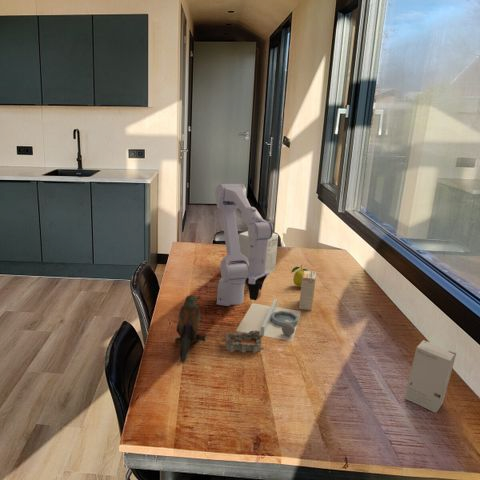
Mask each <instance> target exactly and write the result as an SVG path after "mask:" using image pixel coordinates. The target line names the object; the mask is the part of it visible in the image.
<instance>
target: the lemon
mask: <svg viewBox="0 0 480 480" xmlns="http://www.w3.org/2000/svg"><path fill="white" fill-rule="evenodd" d="M298 269H299V270H298ZM304 271H309V270H308V269H306V268H303V264H301V265H300V266H295V267H293V268H292V270H291V272H290V273H294V272H295V273H294V275H293V279H292V280H293V281H292V282H293V284H294V285H295V286H297V287H298V288H301V285H302V277H303V272H304Z"/></svg>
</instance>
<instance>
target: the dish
mask: <svg viewBox="0 0 480 480" xmlns="http://www.w3.org/2000/svg"><path fill="white" fill-rule="evenodd" d="M298 318H299V317H298V316H297V315H295V314H294V313H292V312H286V311H278V312H273V314H272V316H271V321H272V322H273V323H274V324H276V325H278V326H281V327H282V326H283V325H284V324H285V323H291V324H293V326H296V325H297V326H298V325H299V321H298ZM299 319H300V318H299Z"/></svg>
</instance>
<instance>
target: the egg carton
mask: <svg viewBox="0 0 480 480" xmlns="http://www.w3.org/2000/svg"><path fill="white" fill-rule="evenodd" d="M232 338H233V341H232V340H231V339H232ZM243 339H244V340H245V341H250V340H253V339H255V340H256V341H255V344H252V343H249V342H247V343H246V344H245V343H243V342H242V341H243ZM261 339H262V338H261V336H260V331H250V332H249V333H246V332H236V333H225V350H227V351H229V352H230V353H233V352H235V351H240V352H241V353H246V352H247V351H249V352H252V353H255V354H257V353H258V352H260V351H261V347H262V340H261Z"/></svg>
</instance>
